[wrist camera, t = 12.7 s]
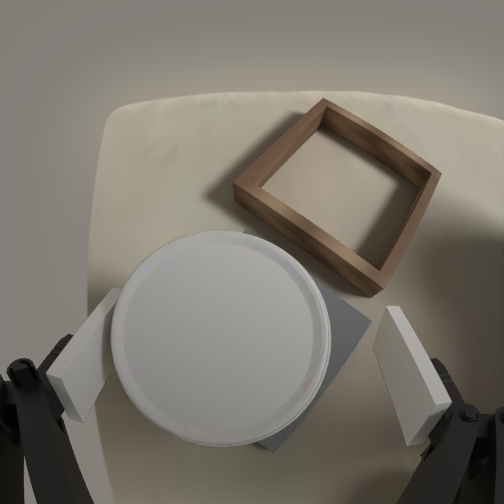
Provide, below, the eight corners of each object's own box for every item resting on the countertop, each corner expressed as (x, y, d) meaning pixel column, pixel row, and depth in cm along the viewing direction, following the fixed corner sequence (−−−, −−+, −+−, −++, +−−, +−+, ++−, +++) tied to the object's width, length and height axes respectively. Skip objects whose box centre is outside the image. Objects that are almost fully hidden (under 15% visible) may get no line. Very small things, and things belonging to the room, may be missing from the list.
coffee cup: (191, 280, 25) (146, 204, 14) (306, 308, 24) (352, 250, 13) (159, 391, 21) (80, 403, 10) (278, 424, 21) (304, 472, 9)
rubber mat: (367, 323, 24) (371, 321, 23) (272, 449, 21) (273, 452, 20) (246, 234, 27) (246, 229, 26) (146, 348, 24) (142, 347, 23)
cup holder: (429, 188, 30) (441, 173, 27) (370, 297, 25) (383, 288, 22) (319, 116, 33) (323, 97, 30) (234, 200, 29) (233, 182, 26)
